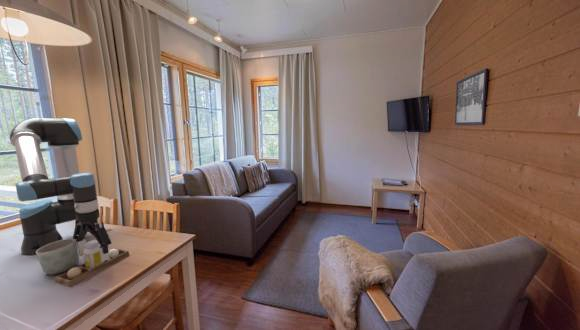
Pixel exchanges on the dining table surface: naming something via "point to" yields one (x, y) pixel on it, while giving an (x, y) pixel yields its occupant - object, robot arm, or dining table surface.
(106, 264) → the caddy
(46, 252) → the planter
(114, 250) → the white egg ball
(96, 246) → the pill bottle
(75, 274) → the brown egg ball
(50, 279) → the dining table surface
